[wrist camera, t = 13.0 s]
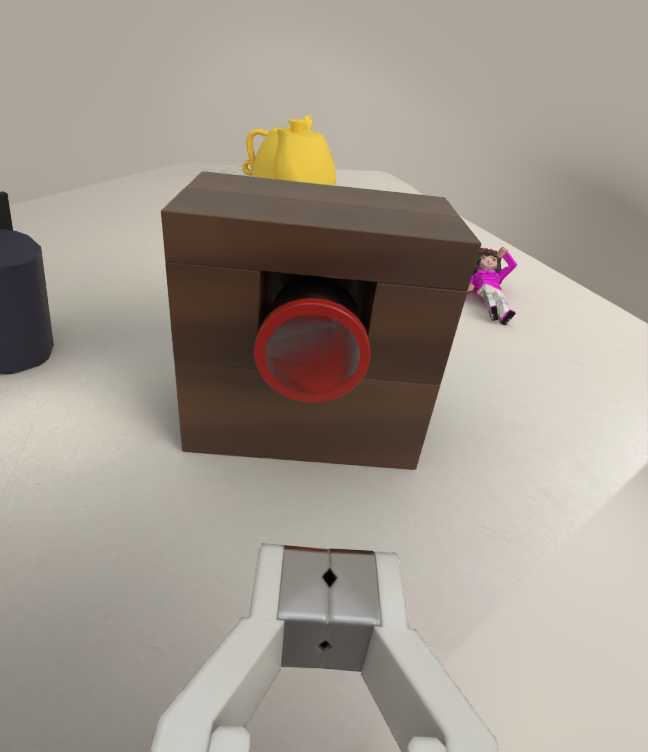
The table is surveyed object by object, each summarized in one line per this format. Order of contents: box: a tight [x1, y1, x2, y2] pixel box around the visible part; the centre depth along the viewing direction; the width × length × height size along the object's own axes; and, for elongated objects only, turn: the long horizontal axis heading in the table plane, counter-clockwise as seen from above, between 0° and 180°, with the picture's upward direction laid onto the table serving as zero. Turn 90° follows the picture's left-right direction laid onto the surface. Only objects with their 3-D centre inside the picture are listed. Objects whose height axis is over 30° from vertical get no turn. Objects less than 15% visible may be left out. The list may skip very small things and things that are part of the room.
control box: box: [161, 172, 481, 469], centre depth 28 cm, size 8×14×14 cm, turn 90°
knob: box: [254, 276, 371, 402], centre depth 23 cm, size 4×5×5 cm
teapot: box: [242, 115, 336, 186], centre depth 74 cm, size 20×15×12 cm
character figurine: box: [467, 247, 517, 325], centre depth 50 cm, size 6×5×12 cm
